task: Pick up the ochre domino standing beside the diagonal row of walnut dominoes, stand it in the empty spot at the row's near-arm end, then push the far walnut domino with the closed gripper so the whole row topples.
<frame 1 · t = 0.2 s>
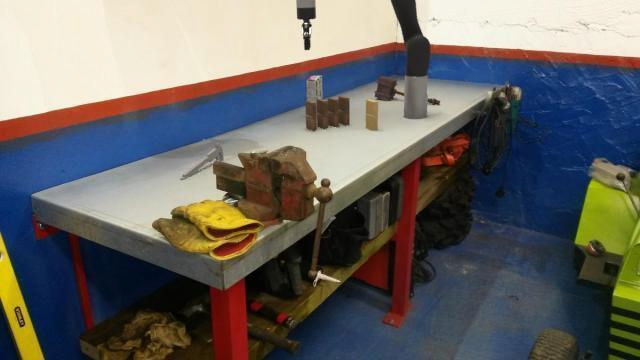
hand: (307, 49, 204), 29 cm above the table, tool pointing down, fingers open, 8 cm apart
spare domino: (371, 128, 196), on the table
domino 4: (344, 124, 204), on the table
domino 1: (311, 129, 198), on the table
candy bar box: (315, 116, 220), on the table
domino 3: (333, 125, 202), on the table
domino 2: (322, 127, 200), on the table
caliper: (203, 170, 156), on the table
hammer: (407, 102, 243), on the table
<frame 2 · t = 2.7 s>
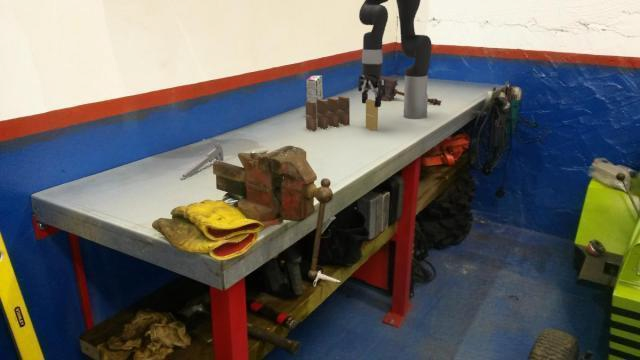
hand: (371, 105, 193), 9 cm above the table, tool pointing down, fingers open, 8 cm apart
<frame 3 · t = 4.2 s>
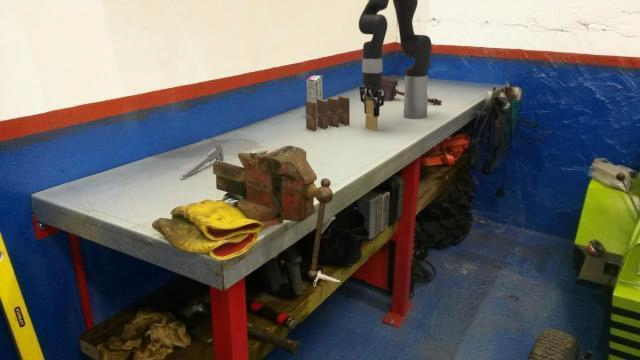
hand: (371, 115, 195), 5 cm above the table, tool pointing down, fingers closed on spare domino, 5 cm apart
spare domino: (371, 128, 196), on the table, touching gripper
everything else where it was.
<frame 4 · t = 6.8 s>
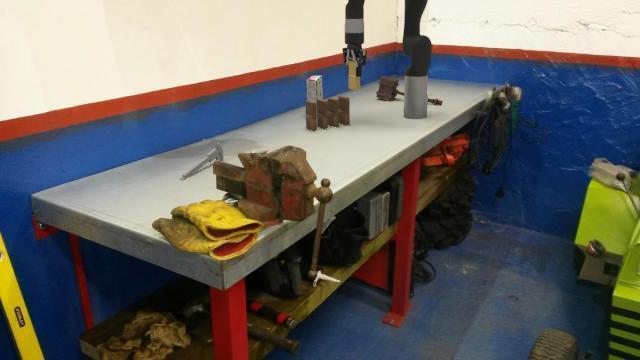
hand: (354, 75, 200), 19 cm above the table, tool pointing down, fingers closed on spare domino, 5 cm apart
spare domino: (354, 89, 202), point 13 cm above the table, touching gripper
when the fingers open (6 cm above the table, at t = 9.9 s): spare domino stays where it is, on the table.
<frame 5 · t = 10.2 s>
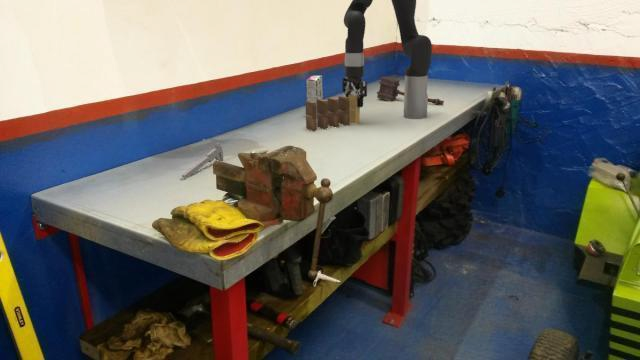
hand: (354, 105, 204), 7 cm above the table, tool pointing down, fingers open, 8 cm apart
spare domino: (354, 122, 207), on the table
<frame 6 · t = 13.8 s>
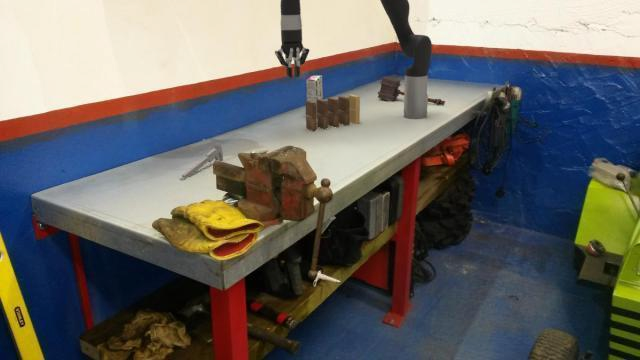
hand: (293, 76, 187), 21 cm above the table, tool pointing down, fingers closed
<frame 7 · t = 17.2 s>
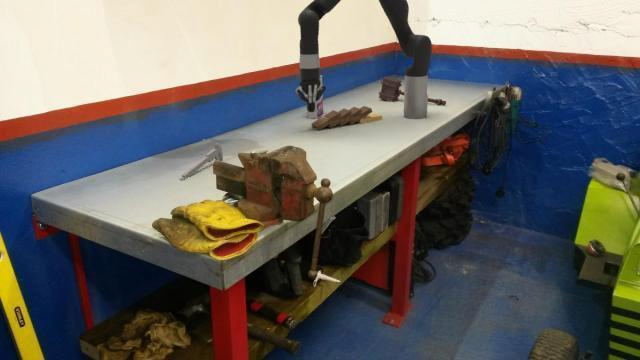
hand: (311, 111, 195), 7 cm above the table, tool pointing down, fingers closed
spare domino: (356, 120, 207), point 1 cm above the table, tilted 90°, touching domino 4
domino 4: (346, 121, 205), point 1 cm above the table, tilted 69°, touching domino 3, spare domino
domino 1: (315, 126, 198), point 1 cm above the table, tilted 69°, touching domino 2
domino 3: (336, 123, 203), point 1 cm above the table, tilted 68°, touching domino 2, domino 4
domino 2: (326, 125, 200), point 1 cm above the table, tilted 68°, touching domino 1, domino 3
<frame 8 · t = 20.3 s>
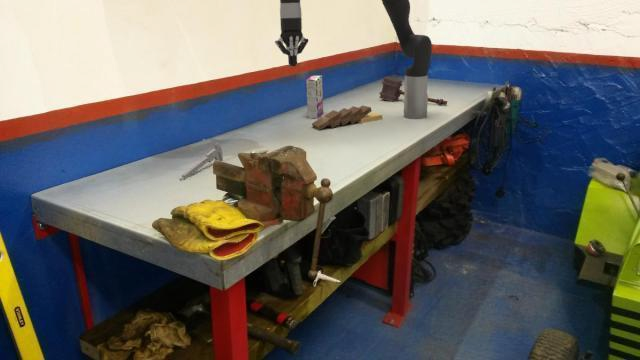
hand: (292, 66, 186), 25 cm above the table, tool pointing down, fingers closed
at the end: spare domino tilted 89°; domino 3 tilted 68°; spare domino inside the target area (1.8 cm from its centre), point 0.7 cm above the table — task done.
